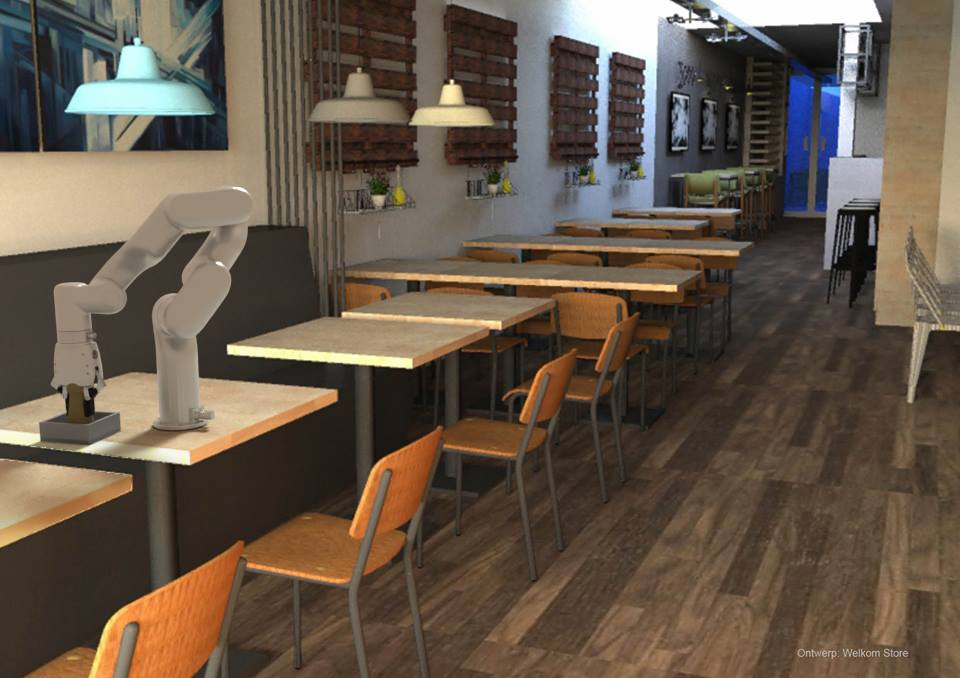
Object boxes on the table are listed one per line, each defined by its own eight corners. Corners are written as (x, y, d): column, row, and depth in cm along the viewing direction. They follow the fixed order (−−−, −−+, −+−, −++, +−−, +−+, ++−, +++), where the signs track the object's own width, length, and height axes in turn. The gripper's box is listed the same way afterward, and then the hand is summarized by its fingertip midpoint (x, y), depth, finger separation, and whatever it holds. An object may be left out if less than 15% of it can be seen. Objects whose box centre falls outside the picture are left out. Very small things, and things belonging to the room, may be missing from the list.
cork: (66, 430, 245) (62, 383, 243) (68, 424, 251) (64, 377, 249) (94, 428, 247) (90, 381, 245) (95, 422, 253) (92, 376, 251)
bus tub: (120, 430, 254) (119, 412, 253) (89, 445, 242) (88, 425, 241) (73, 427, 257) (72, 409, 256) (40, 441, 245) (39, 422, 244)
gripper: (116, 335, 247) (122, 413, 250) (52, 333, 251) (58, 409, 254) (98, 341, 240) (103, 421, 243) (32, 338, 244) (38, 417, 247)
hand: (80, 414), depth 249 cm, fingers closed on cork, 3 cm apart
